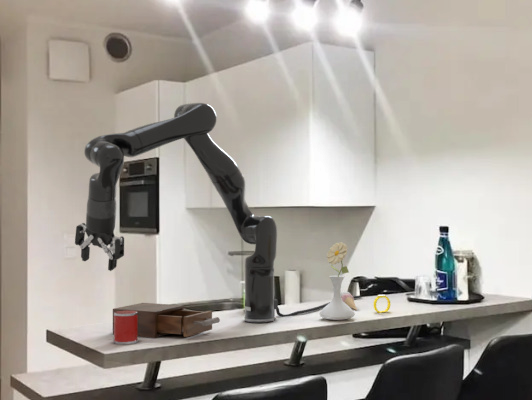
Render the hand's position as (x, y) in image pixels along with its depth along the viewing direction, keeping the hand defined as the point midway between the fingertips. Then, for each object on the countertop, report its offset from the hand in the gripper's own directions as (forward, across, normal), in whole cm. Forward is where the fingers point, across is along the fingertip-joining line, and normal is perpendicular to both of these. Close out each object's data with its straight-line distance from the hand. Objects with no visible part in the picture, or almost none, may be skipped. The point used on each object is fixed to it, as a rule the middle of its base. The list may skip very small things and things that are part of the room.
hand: (98, 264), depth 195 cm
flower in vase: (+19, -59, -45) cm, 77 cm away
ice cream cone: (+29, -57, -71) cm, 95 cm away
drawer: (+15, -26, -6) cm, 31 cm away
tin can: (+15, -16, +8) cm, 23 cm away
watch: (+23, -69, -64) cm, 97 cm away
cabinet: (+20, -14, -6) cm, 25 cm away
